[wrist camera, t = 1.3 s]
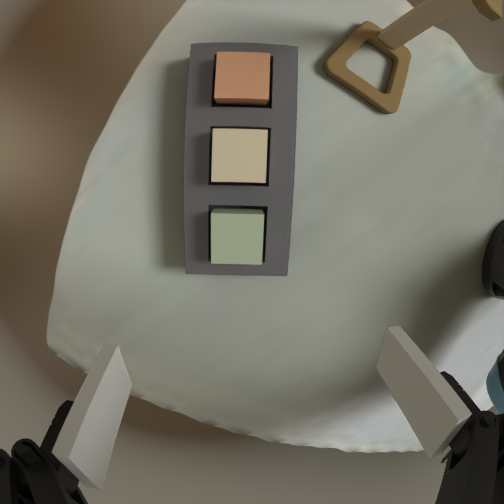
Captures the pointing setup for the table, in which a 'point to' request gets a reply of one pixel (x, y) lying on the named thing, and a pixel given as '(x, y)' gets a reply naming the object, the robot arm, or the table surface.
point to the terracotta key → (242, 78)
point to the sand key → (239, 155)
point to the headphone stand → (397, 47)
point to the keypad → (240, 193)
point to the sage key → (237, 236)
